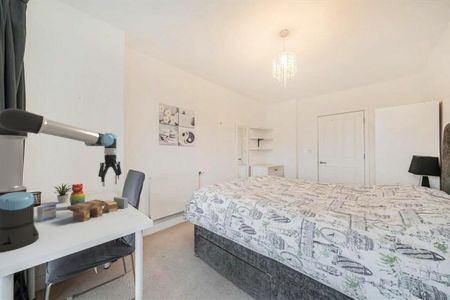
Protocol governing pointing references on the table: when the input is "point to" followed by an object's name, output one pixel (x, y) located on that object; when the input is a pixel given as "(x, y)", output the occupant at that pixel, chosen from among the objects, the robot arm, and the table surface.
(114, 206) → the skid
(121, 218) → the table surface
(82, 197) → the stacking bear
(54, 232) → the table surface
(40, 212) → the medicine box
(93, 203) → the slab
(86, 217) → the bed
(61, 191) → the house plant
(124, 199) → the block
